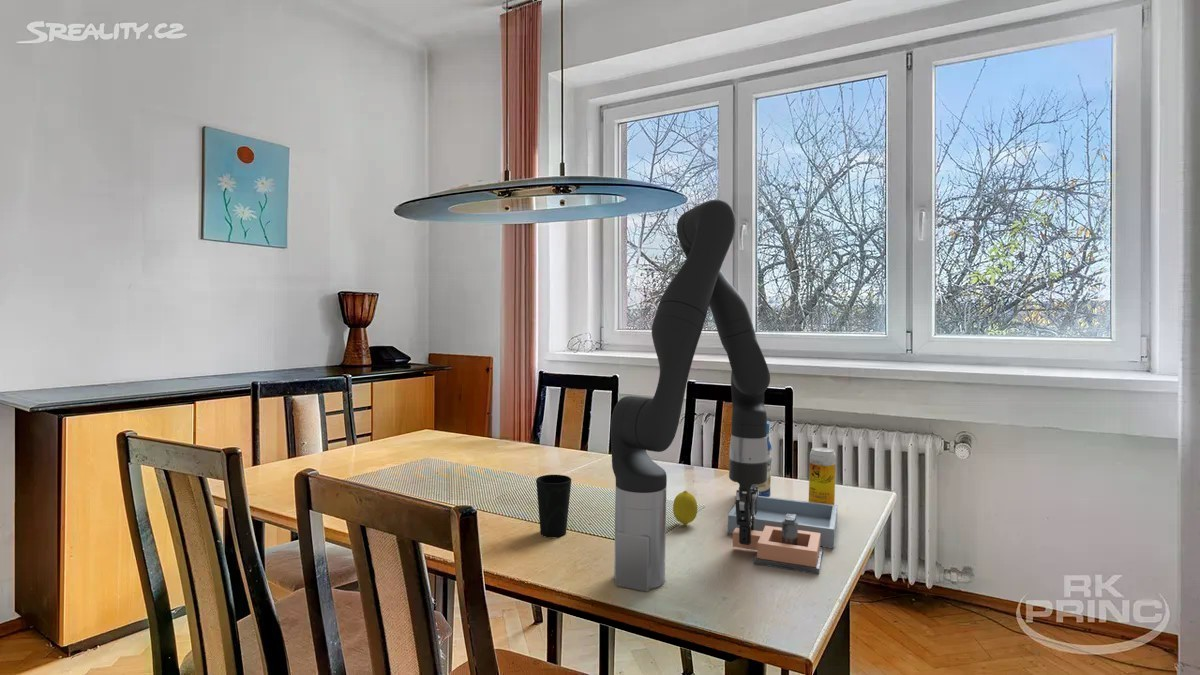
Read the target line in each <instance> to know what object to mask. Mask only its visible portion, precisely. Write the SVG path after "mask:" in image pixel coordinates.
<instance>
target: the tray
mask: <svg viewBox="0 0 1200 675" xmlns="http://www.w3.org/2000/svg"><path fill="white" fill-rule="evenodd" d="M787 514H795V515H796V521H795V522H797V523H798V530H802V531H809V532H816V533H821V536H820V546H824V547H823V548H827V547H830V548H829V549H835V542H834V541H836V540H835V539H836V534H835V533H837V526H836V525H837V523H838V505H837V504H834V505H830V504H822V503H814V502H809V501H805V500H796V499H788V498H780V497H773V496H772V497H771V496H770V497H764V496H758V499H757V513H756V515H755V520H752V521H754V530H756V531H763V530H764V527H765V526H773V527H780V528H782V522H783V521H785V517H786V515H787ZM727 516H728V517H727V533H728V534H732V535H733V531H734V530H735V528H739V526H740V525H737V523H736V521H737V518H736V504H735V503H734V506H733V508H732V509H731V511H729V513H728V515H727ZM744 520H745V519H744Z"/></svg>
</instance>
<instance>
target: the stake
mask: <svg viewBox="0 0 1200 675" xmlns="http://www.w3.org/2000/svg"><path fill="white" fill-rule="evenodd" d="M795 521H796V515H795V514H787V515H786V517H785V521H783V522H782V543H784V544H791V545H797V538H798V523H797V522H795ZM823 548H824V547H820V551H819V556H818V562H817V567H811V566H804V565H798V564H792V563H785V562H779V561H773V560H766V559H760V558H757V552H756V553H755V556H754V558H753V564H754V565H761V566H766V567H772V568H779V569H785V570H790V569H791V570H792V571H796V570H798V572H803V571H805V572H804V573H809V572H810V573H811V574H815V573H817V574H816V575H820V570H821V569H820V568H821V565H820V564H821V563H822V559H821V558H822V557H823V553H822V552H824V551H823V550H824V549H823Z"/></svg>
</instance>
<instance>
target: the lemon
mask: <svg viewBox="0 0 1200 675" xmlns="http://www.w3.org/2000/svg"><path fill="white" fill-rule="evenodd" d="M673 500H674V501H673V505H672V511H673V512H672V513H673V516H674V518H675V519H676V520H677V521H678V522H679V523H681V524H682V525H683V526H687V525H688V524H690V523H692V522H693V521H694V520H695V519H696V517H697V514H698V503H697V500H696V498H695V496H694V495H693V494H692V493H690V492H688V491H687V490H684V491H682V492H679V493H678V494H677V495H676V496H675V497H674V499H673Z"/></svg>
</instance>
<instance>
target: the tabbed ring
mask: <svg viewBox="0 0 1200 675" xmlns="http://www.w3.org/2000/svg"><path fill="white" fill-rule="evenodd" d="M820 536H821V533H816V532H809V531H802V530H798V538H797V545H791V544H784V543H782V528H780V527H773V526H765V527H764V530H763V531H756V530H751V543H750V544H749V545H744V544H740V543H739V528H735V530H734V531H733V534H732V548H740V549H745V550H752V551H756V553H757V558H760V559H766V560H773V561H779V562H785V563H792V564H798V565H804V566H811V567H817V562H818V556H819V551H820Z"/></svg>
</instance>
